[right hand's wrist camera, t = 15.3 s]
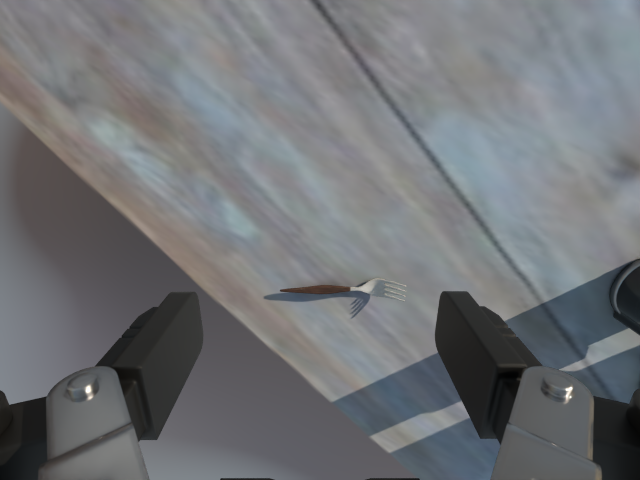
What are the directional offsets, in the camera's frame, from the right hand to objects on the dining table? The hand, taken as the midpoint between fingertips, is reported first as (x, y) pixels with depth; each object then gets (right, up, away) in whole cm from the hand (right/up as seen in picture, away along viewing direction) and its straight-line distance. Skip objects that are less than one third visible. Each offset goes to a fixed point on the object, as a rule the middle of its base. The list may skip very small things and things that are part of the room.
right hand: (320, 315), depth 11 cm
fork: (+3, -4, +34) cm, 34 cm away
